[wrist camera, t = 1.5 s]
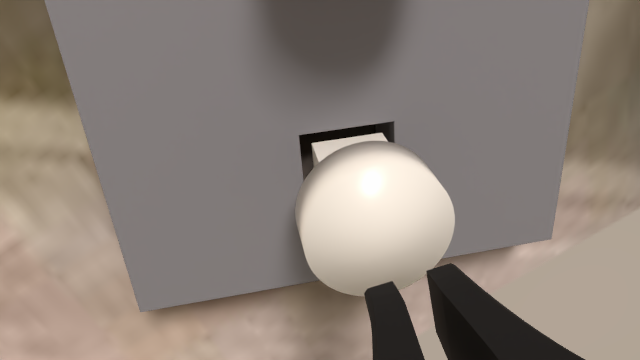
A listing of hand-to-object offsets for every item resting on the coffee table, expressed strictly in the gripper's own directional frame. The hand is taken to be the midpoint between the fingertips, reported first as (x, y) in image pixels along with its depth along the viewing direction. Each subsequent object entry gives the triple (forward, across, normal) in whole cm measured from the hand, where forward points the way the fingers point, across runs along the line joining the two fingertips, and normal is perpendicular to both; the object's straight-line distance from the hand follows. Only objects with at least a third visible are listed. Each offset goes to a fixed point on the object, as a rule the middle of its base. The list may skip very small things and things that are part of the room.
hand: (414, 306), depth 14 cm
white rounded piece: (+7, 0, 0) cm, 7 cm away
